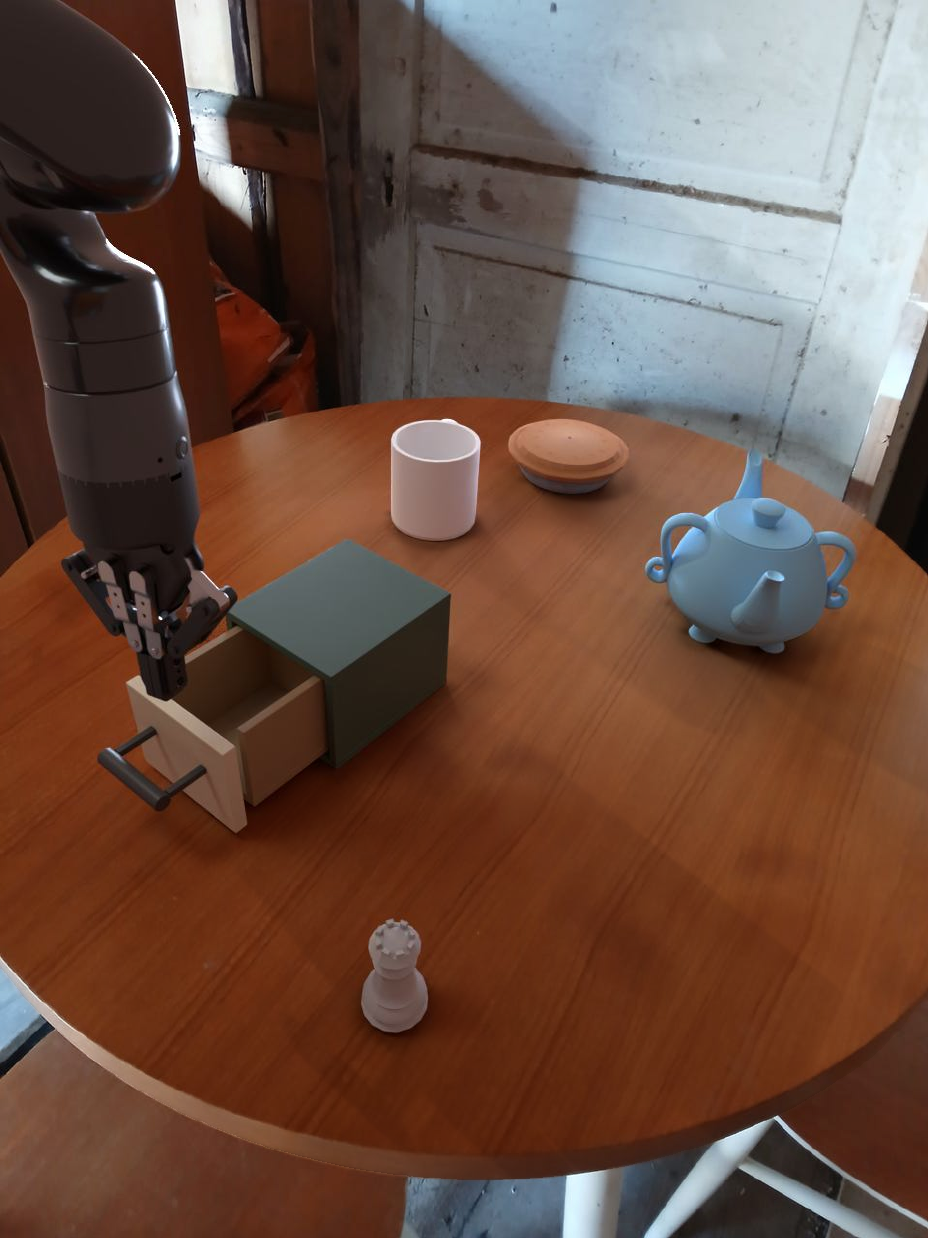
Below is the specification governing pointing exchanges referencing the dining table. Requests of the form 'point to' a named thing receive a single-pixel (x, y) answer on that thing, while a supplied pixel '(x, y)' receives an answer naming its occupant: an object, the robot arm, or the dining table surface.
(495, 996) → the dining table surface
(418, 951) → the rook chess piece
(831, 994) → the dining table surface
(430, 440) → the mug
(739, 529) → the teapot
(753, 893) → the dining table surface
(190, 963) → the dining table surface
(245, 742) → the drawer
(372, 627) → the cabinet
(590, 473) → the pie
